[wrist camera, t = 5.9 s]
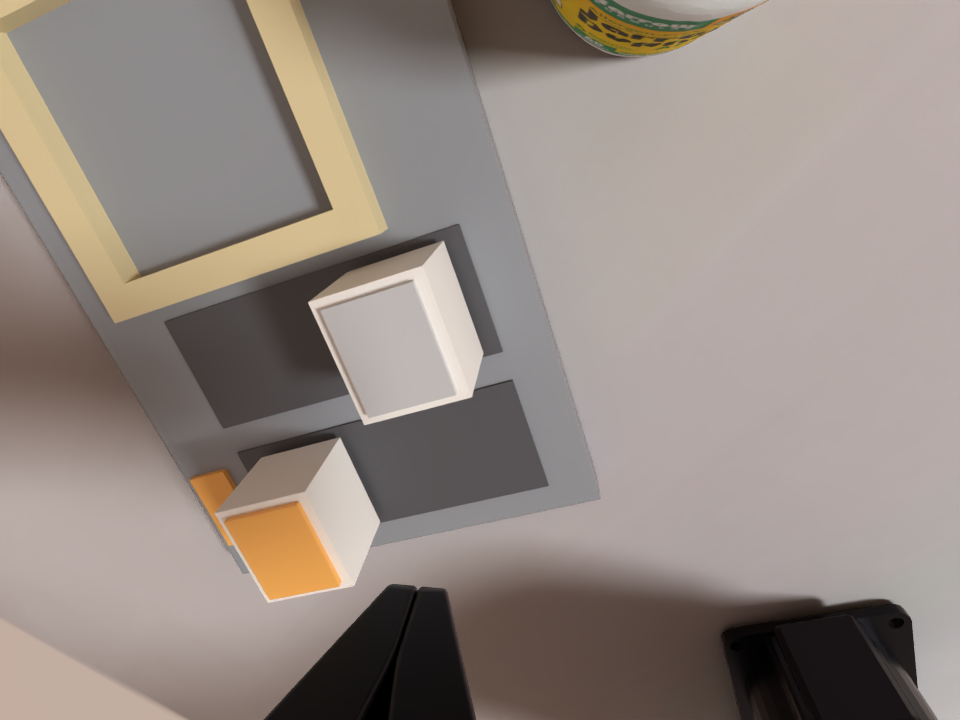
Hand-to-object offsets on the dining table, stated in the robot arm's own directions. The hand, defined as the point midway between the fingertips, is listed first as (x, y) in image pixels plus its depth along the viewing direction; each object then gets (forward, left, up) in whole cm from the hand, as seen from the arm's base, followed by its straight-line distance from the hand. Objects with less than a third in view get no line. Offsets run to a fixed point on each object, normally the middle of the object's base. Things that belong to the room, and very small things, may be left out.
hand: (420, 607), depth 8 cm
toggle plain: (+2, +1, -10) cm, 10 cm away
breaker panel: (+4, +5, -11) cm, 13 cm away
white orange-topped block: (-3, +7, -10) cm, 12 cm away
